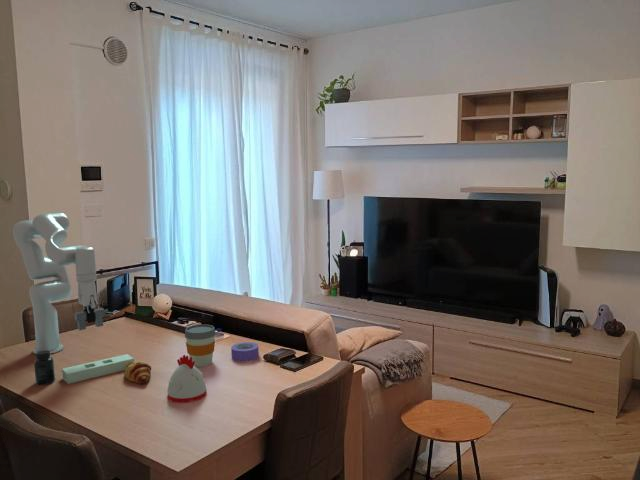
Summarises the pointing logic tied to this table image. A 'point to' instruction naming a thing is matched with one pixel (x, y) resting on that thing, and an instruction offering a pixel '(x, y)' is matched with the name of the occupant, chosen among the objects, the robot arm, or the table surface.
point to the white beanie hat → (186, 382)
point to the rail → (96, 368)
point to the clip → (82, 316)
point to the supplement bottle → (44, 368)
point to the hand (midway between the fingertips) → (90, 320)
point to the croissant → (137, 372)
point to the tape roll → (245, 351)
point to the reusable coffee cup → (200, 344)
